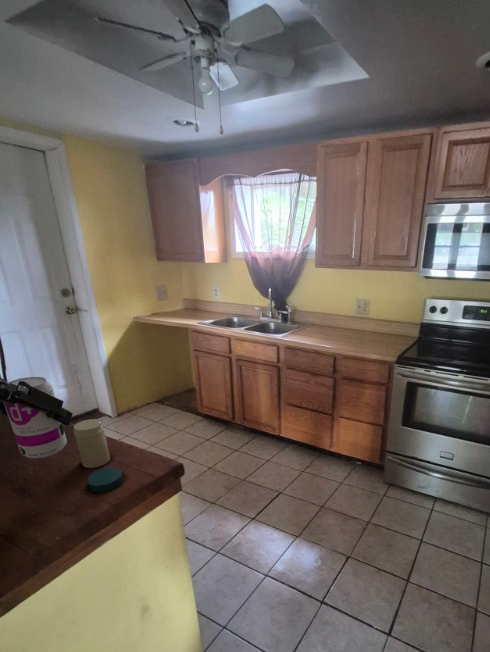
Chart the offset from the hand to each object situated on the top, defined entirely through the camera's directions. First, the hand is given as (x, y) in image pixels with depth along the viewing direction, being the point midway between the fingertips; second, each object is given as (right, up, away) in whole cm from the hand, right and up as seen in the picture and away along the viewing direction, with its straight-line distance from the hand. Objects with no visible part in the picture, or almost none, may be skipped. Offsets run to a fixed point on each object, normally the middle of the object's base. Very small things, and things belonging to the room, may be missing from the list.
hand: (48, 418), depth 79 cm
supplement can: (0, -7, -1) cm, 7 cm away
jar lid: (+9, -14, +6) cm, 17 cm away
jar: (+2, -11, +15) cm, 19 cm away
